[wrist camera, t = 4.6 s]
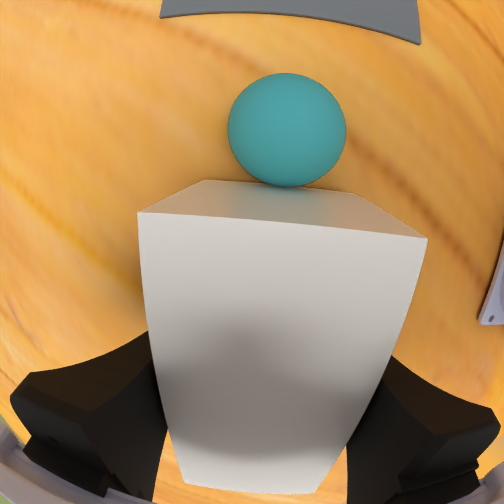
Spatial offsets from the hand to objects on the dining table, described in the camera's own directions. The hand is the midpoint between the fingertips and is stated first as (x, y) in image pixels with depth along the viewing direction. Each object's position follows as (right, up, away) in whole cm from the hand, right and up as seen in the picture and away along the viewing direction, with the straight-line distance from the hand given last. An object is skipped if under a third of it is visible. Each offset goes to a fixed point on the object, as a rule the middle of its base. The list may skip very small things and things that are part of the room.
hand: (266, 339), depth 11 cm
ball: (+1, +8, -2) cm, 8 cm away
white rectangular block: (0, 0, +1) cm, 2 cm away
